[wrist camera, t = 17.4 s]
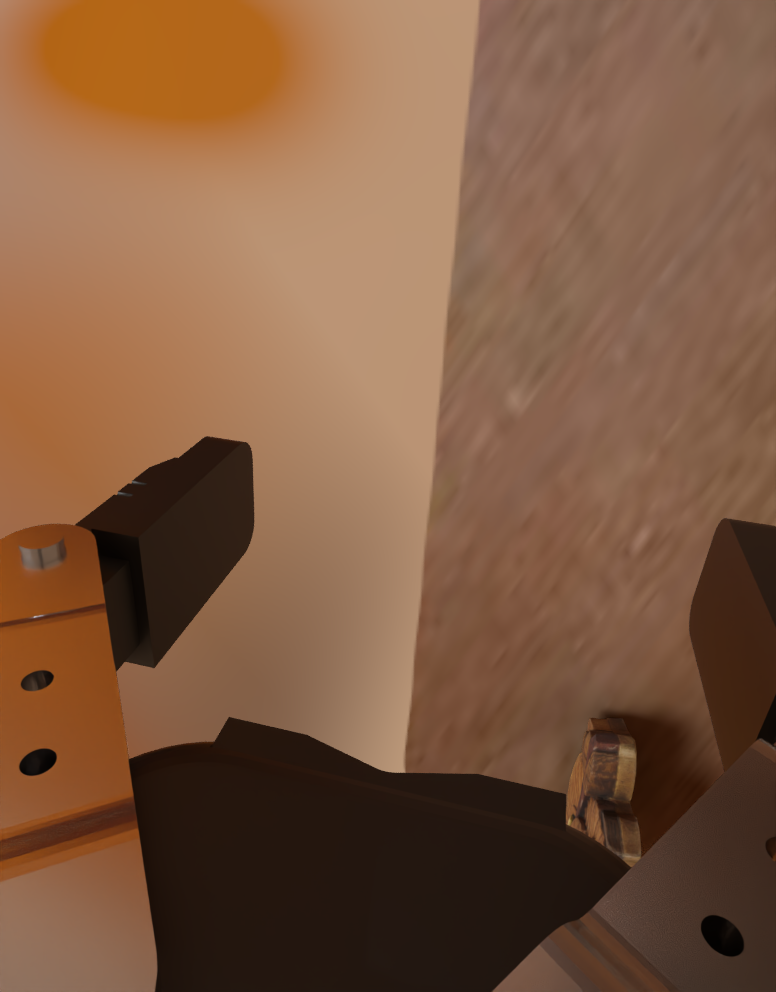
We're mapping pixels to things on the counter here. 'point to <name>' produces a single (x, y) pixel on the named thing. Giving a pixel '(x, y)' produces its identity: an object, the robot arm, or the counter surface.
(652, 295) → the counter surface
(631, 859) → the wooden carving
